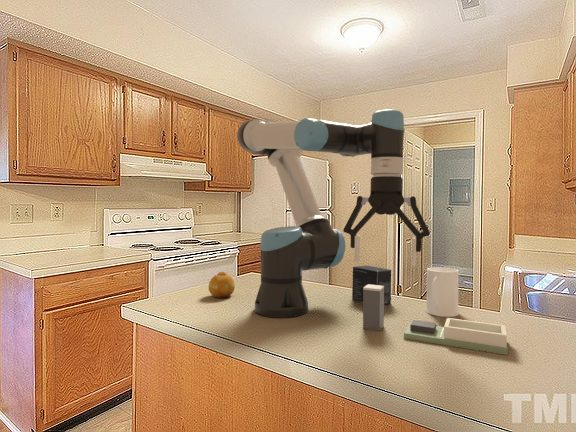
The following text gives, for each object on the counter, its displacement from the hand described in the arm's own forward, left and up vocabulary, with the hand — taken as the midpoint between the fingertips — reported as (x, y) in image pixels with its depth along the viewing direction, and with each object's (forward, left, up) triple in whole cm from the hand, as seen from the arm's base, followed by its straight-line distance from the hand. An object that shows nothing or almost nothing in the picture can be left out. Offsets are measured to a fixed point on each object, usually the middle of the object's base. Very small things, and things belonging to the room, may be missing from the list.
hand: (384, 263), depth 91 cm
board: (+16, -2, -16) cm, 22 cm away
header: (+20, -2, -14) cm, 25 cm away
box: (-9, +21, -16) cm, 28 cm away
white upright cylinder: (+11, +17, -16) cm, 26 cm away
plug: (-2, -2, -16) cm, 16 cm away
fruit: (-54, +5, -16) cm, 57 cm away
